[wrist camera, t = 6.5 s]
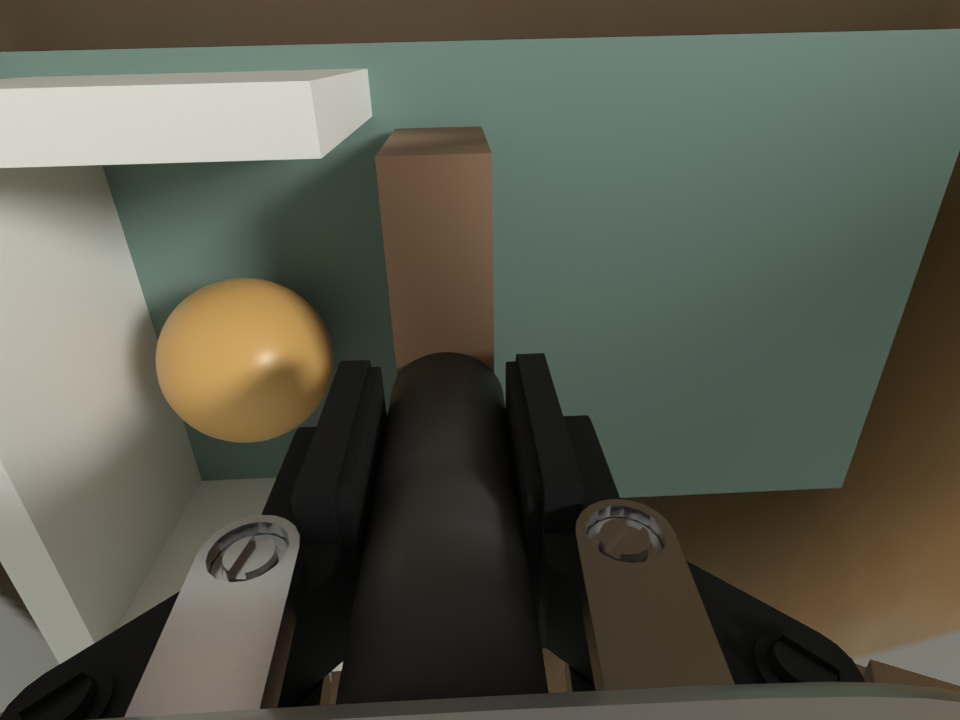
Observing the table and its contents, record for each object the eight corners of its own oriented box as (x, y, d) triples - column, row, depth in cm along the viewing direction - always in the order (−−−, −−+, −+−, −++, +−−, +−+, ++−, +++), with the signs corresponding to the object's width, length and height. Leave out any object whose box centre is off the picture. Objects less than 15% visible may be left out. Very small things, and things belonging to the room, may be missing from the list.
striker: (489, 125, 13) (587, 318, 4) (494, 467, 18) (542, 943, 9) (386, 129, 13) (217, 333, 4) (417, 471, 18) (377, 953, 8)
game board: (952, 29, 15) (1367, 12, 8) (817, 460, 21) (985, 649, 14) (18, 52, 14) (-374, 53, 7) (171, 489, 20) (35, 700, 14)
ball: (104, 287, 13) (264, 245, 16) (154, 432, 15) (290, 374, 18) (181, 337, 11) (355, 278, 13) (229, 501, 13) (374, 422, 15)
